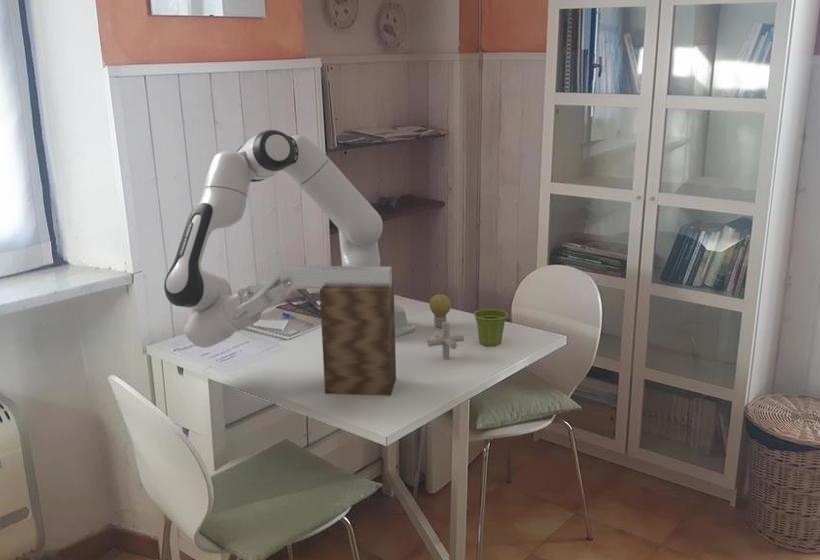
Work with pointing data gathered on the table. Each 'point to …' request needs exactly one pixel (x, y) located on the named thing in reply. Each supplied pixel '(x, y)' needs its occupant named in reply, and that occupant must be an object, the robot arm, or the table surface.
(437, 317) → the light bulb
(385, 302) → the walnut stand
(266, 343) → the table surface
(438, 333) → the pipe connector
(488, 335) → the plant pot
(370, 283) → the aluminium bar
